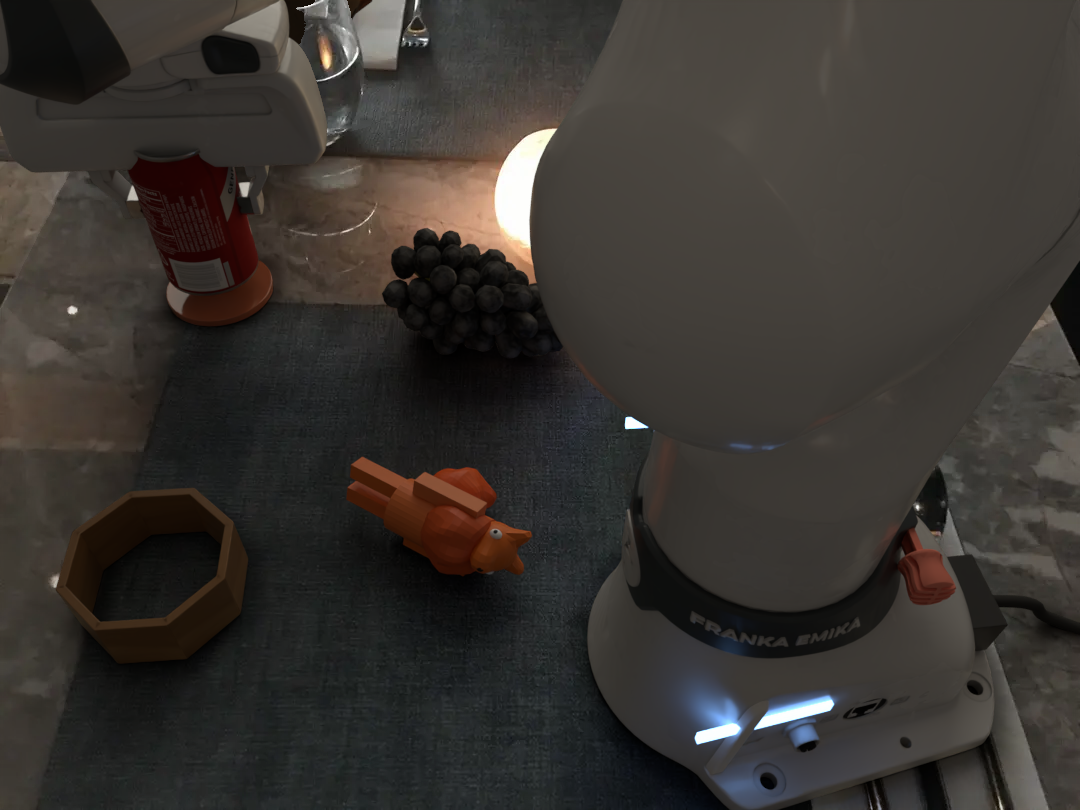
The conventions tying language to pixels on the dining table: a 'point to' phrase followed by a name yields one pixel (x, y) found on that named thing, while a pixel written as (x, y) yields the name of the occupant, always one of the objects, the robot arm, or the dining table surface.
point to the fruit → (468, 298)
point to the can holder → (124, 531)
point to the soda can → (195, 222)
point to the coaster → (223, 301)
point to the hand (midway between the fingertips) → (196, 211)
